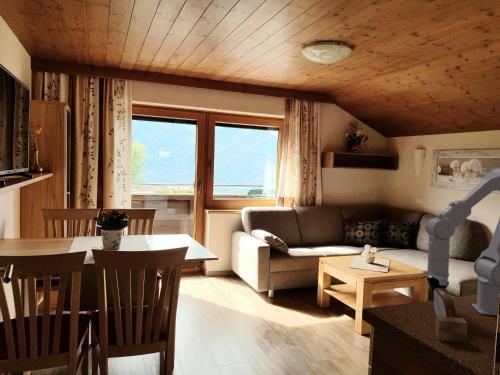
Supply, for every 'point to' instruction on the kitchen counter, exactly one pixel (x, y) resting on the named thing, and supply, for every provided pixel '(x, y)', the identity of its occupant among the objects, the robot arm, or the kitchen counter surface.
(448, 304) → the tin
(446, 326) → the block
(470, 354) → the kitchen counter surface
